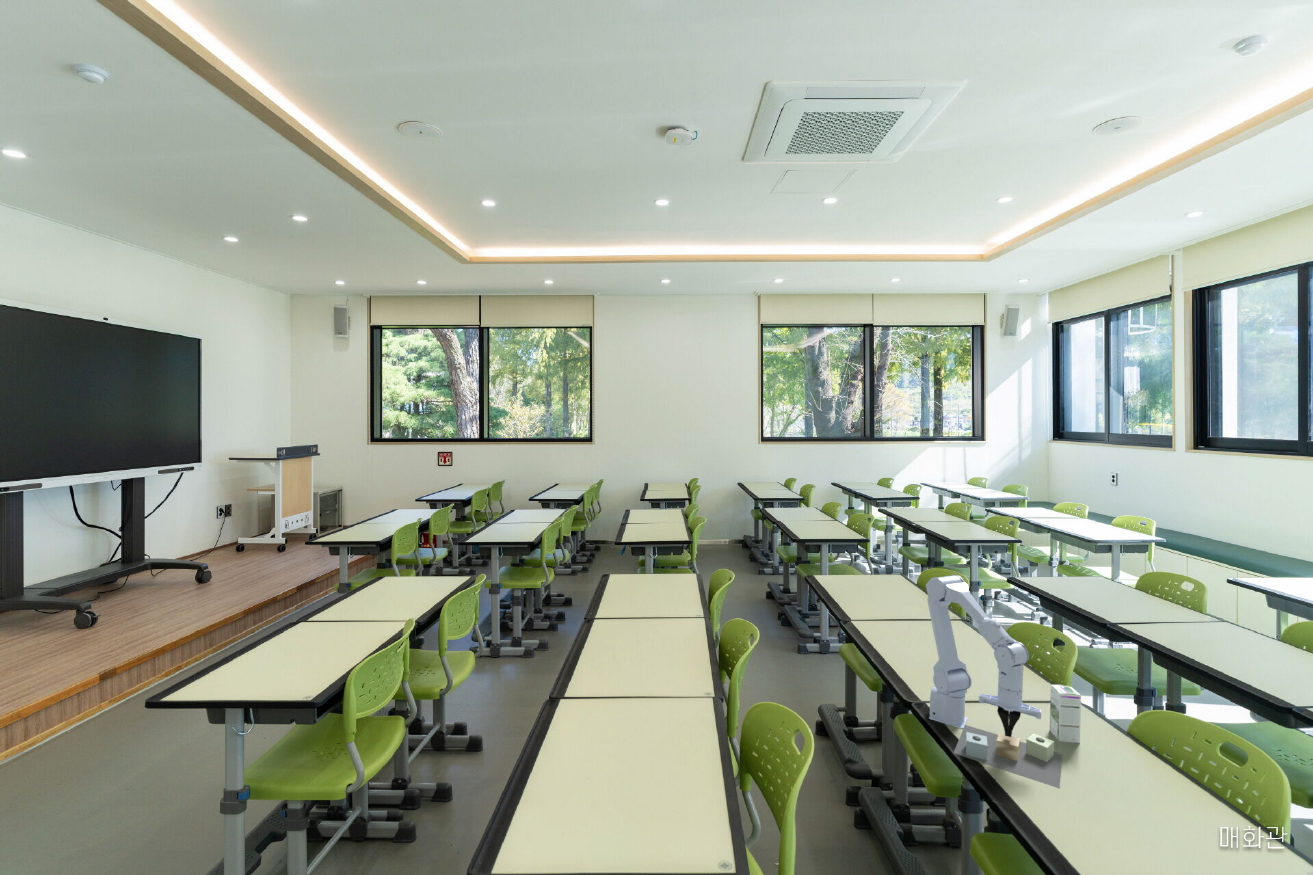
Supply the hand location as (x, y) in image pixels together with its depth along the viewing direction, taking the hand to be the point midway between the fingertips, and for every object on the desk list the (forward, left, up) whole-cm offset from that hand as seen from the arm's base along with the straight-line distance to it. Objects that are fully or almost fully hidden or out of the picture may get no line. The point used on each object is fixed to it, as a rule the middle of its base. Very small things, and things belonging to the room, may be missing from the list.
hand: (1008, 734), depth 157 cm
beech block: (0, 0, -5) cm, 5 cm away
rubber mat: (0, 0, -6) cm, 6 cm away
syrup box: (+12, +20, -6) cm, 24 cm away
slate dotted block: (-7, -5, -5) cm, 10 cm away
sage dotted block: (+7, +5, -5) cm, 10 cm away
